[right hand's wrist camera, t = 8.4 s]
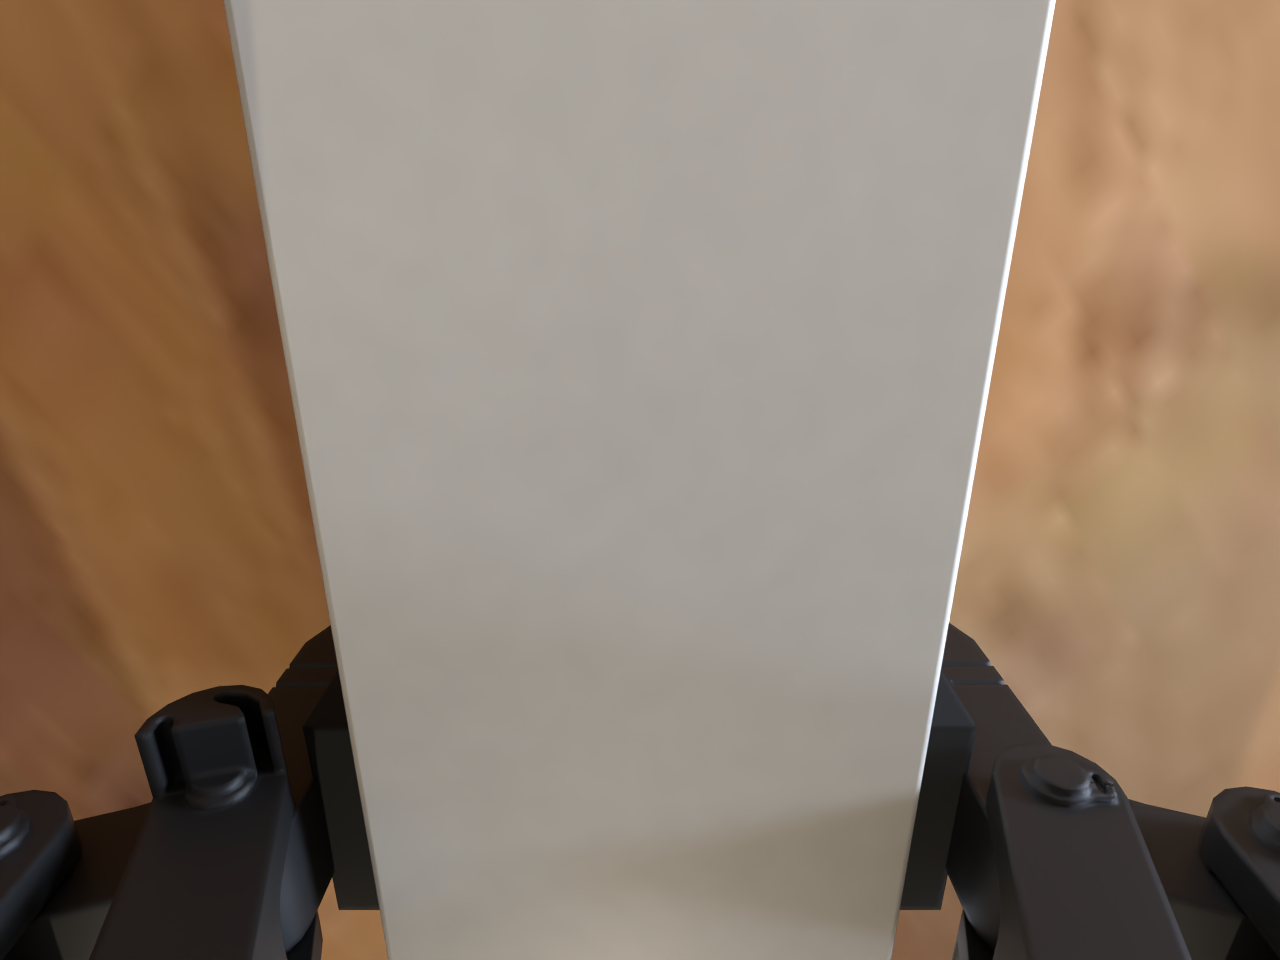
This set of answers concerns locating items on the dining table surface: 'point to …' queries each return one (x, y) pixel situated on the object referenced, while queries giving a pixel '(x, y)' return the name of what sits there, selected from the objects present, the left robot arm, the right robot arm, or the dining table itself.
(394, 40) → the bar
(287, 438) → the dining table surface
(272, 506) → the dining table surface
